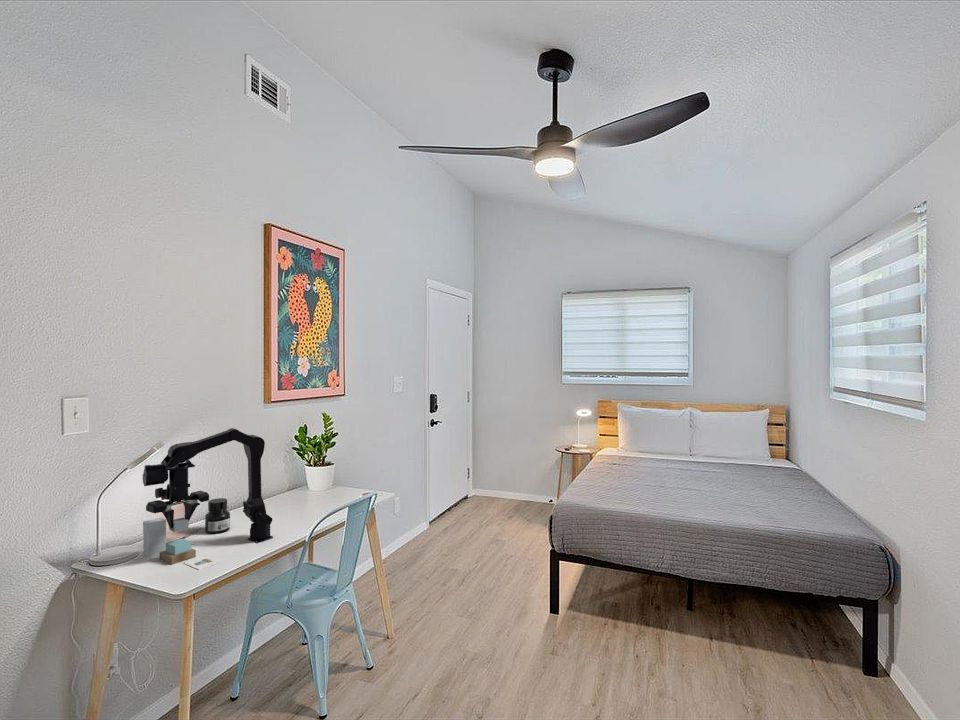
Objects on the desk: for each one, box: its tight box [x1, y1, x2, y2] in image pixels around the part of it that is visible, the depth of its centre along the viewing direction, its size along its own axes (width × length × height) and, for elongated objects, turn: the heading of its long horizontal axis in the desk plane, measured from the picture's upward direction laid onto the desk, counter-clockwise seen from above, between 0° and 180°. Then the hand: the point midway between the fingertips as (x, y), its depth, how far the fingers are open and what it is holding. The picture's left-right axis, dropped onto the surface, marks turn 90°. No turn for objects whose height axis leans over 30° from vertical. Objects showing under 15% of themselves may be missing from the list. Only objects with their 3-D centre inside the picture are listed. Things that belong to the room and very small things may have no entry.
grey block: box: [168, 517, 190, 533], centre depth 180 cm, size 4×4×3 cm
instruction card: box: [183, 556, 220, 571], centre depth 176 cm, size 7×9×1 cm
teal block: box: [166, 537, 192, 555], centre depth 180 cm, size 6×6×3 cm
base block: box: [159, 547, 197, 566], centre depth 180 cm, size 8×8×3 cm
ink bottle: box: [204, 497, 231, 535], centre depth 208 cm, size 10×9×12 cm
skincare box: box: [142, 517, 167, 559], centre depth 183 cm, size 6×4×12 cm
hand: (178, 526), depth 180 cm, fingers closed on grey block, 5 cm apart
